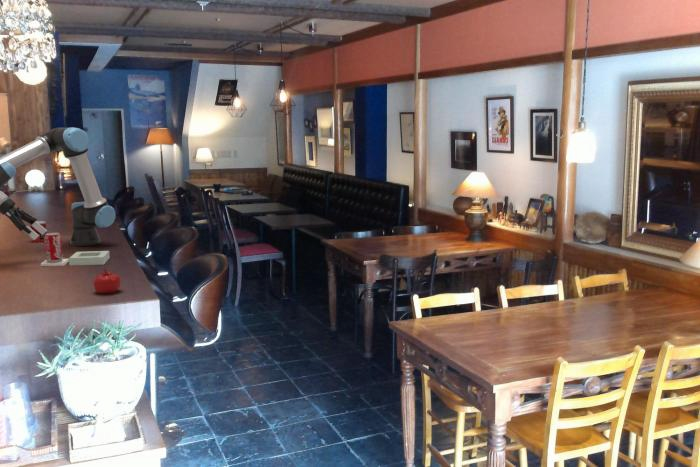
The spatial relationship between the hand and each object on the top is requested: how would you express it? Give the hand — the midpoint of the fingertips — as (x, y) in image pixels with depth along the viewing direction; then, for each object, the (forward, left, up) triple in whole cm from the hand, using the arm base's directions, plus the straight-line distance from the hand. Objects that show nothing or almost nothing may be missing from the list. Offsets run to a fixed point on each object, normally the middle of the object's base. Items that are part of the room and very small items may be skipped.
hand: (41, 235), depth 293 cm
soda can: (0, +5, -13) cm, 14 cm away
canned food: (-61, -18, -14) cm, 65 cm away
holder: (-2, +20, -14) cm, 24 cm away
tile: (0, +5, -14) cm, 15 cm away
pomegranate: (+57, +38, -14) cm, 70 cm away
